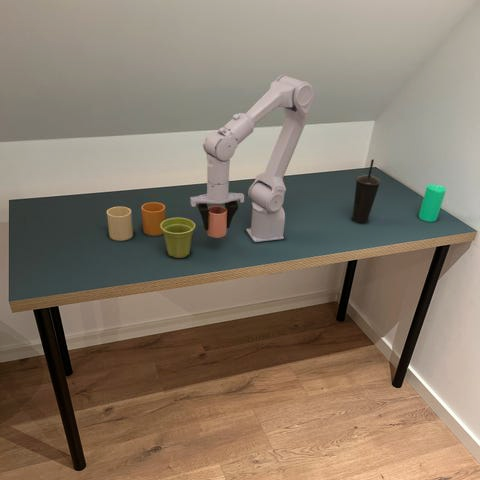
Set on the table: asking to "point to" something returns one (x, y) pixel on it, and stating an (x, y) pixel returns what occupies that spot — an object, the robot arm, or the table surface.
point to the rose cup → (217, 221)
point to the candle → (432, 202)
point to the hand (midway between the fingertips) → (216, 227)
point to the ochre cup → (153, 218)
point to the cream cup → (120, 223)
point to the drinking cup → (364, 196)
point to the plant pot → (178, 236)
